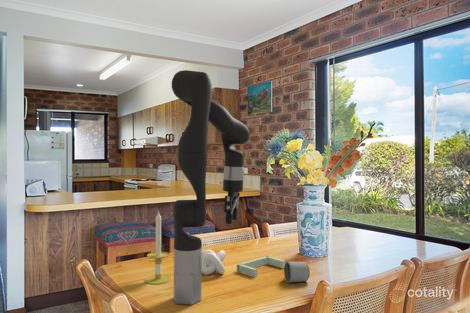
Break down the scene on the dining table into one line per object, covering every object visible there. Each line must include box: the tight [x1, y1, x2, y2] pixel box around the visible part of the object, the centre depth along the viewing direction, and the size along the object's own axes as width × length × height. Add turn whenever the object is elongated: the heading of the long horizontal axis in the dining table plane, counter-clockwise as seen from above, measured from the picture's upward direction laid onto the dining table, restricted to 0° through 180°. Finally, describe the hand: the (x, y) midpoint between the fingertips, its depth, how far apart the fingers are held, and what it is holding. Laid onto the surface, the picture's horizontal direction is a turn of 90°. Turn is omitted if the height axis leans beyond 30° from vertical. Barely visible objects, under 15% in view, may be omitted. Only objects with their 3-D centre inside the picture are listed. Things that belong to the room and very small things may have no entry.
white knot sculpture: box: [201, 249, 227, 276], centre depth 149 cm, size 11×12×9 cm
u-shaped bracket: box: [236, 255, 286, 278], centre depth 154 cm, size 10×19×3 cm, turn 133°
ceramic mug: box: [283, 261, 311, 283], centre depth 141 cm, size 11×8×8 cm
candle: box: [144, 210, 172, 286], centre depth 140 cm, size 10×10×27 cm
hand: (231, 221), depth 136 cm, fingers open, 8 cm apart
